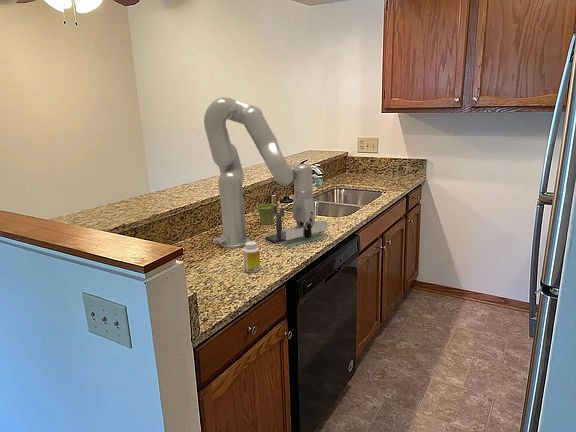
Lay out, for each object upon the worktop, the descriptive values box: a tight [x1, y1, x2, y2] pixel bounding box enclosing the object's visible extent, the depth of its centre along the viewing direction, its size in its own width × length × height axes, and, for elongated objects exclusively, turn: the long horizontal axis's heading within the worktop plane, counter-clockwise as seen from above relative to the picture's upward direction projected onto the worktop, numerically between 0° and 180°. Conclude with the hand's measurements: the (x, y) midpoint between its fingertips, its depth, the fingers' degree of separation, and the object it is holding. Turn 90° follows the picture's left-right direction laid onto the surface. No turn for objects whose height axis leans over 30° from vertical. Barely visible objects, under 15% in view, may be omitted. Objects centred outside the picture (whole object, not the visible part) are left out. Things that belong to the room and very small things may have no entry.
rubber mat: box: [279, 232, 328, 248], centre depth 188 cm, size 21×6×1 cm, turn 125°
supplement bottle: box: [242, 240, 261, 274], centre depth 157 cm, size 6×6×10 cm
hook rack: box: [264, 204, 323, 245], centre depth 194 cm, size 26×7×14 cm, turn 125°
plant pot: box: [256, 203, 276, 226], centre depth 216 cm, size 9×9×9 cm
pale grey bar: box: [281, 219, 329, 241], centre depth 187 cm, size 22×4×4 cm, turn 125°
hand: (304, 236), depth 188 cm, fingers closed on pale grey bar, 3 cm apart
